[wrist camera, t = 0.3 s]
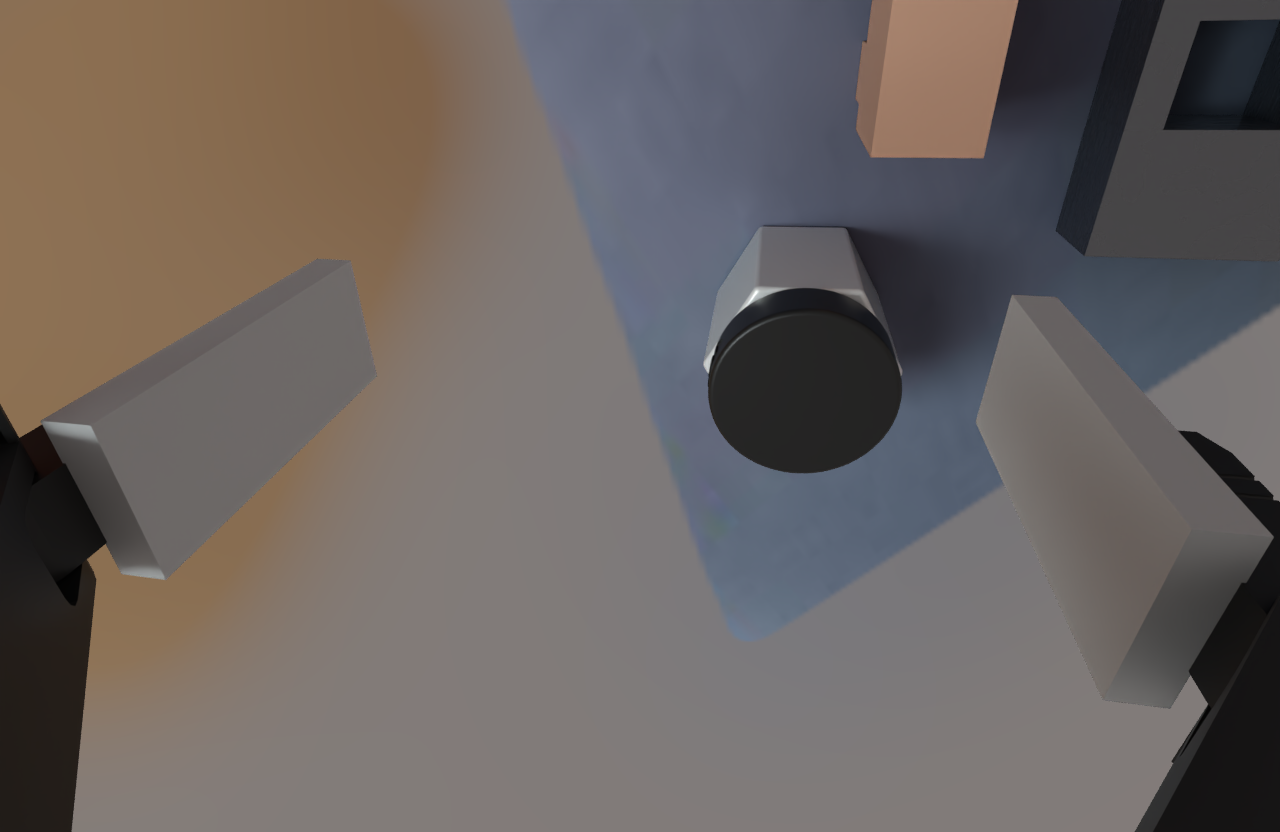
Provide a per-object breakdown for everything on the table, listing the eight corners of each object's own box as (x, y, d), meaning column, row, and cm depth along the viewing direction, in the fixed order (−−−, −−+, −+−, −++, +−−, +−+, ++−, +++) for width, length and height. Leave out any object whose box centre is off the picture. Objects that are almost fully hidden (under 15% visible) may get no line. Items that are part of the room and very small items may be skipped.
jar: (695, 260, 40) (666, 354, 30) (830, 188, 37) (850, 265, 27) (766, 384, 43) (763, 505, 33) (896, 327, 40) (936, 443, 30)
